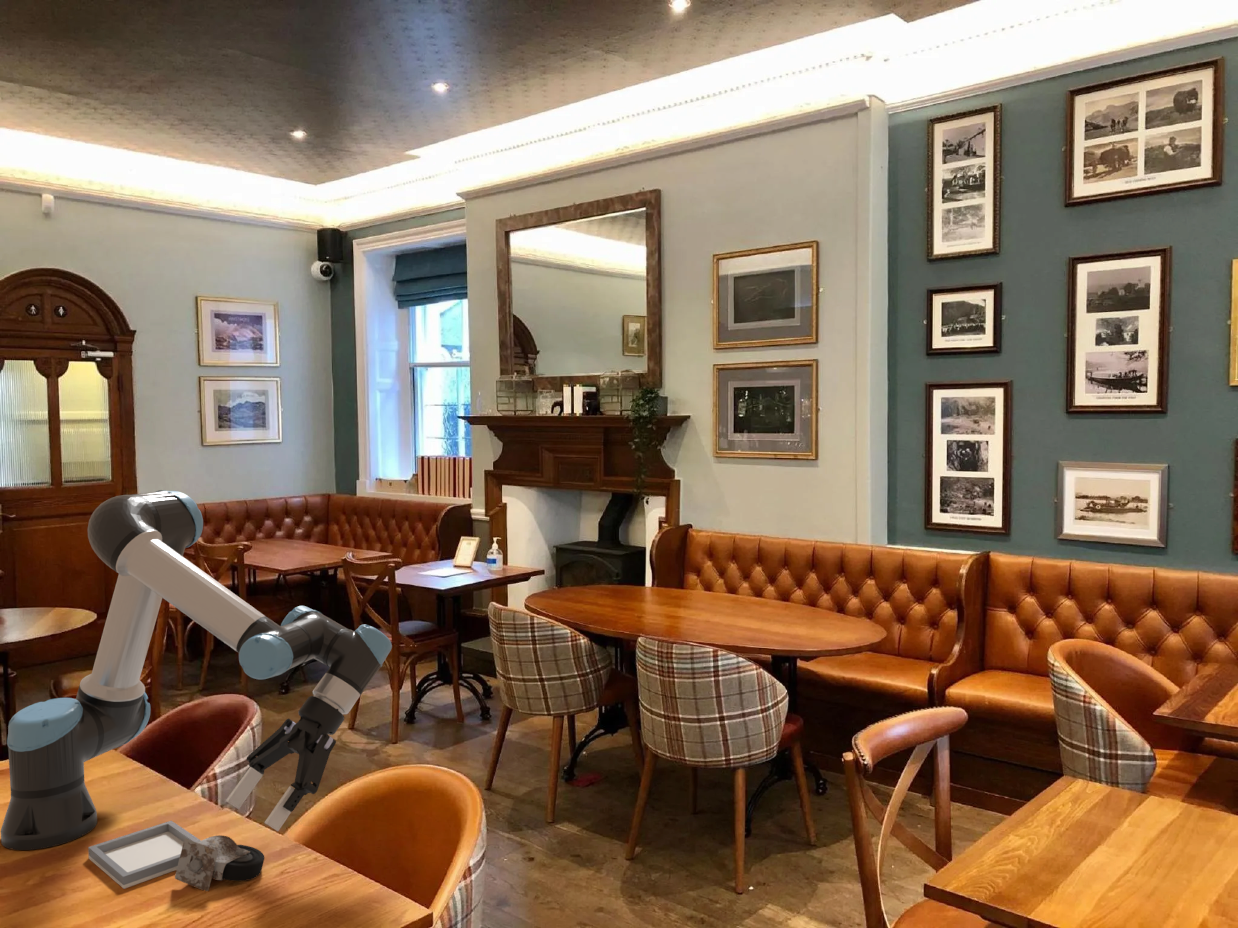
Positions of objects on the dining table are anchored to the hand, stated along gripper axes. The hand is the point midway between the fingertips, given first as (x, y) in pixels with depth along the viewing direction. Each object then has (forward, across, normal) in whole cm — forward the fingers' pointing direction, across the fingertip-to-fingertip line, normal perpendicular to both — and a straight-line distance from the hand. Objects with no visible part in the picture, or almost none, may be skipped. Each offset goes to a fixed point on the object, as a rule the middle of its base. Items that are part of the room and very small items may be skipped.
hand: (250, 815), depth 155 cm
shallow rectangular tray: (+13, +18, 0) cm, 22 cm away
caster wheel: (+10, +2, -4) cm, 11 cm away
